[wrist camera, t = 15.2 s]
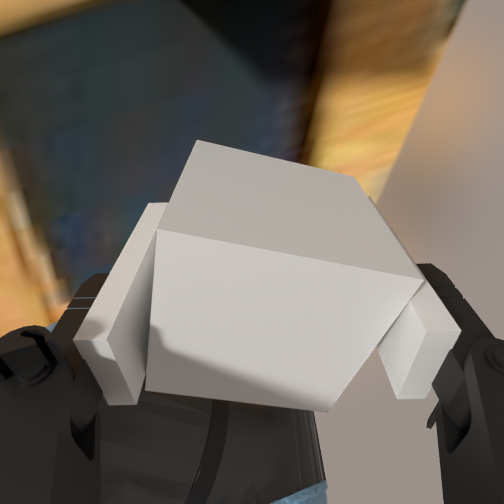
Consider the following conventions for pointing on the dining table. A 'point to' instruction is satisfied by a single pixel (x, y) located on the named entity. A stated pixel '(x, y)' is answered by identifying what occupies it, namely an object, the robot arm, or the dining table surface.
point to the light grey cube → (270, 282)
